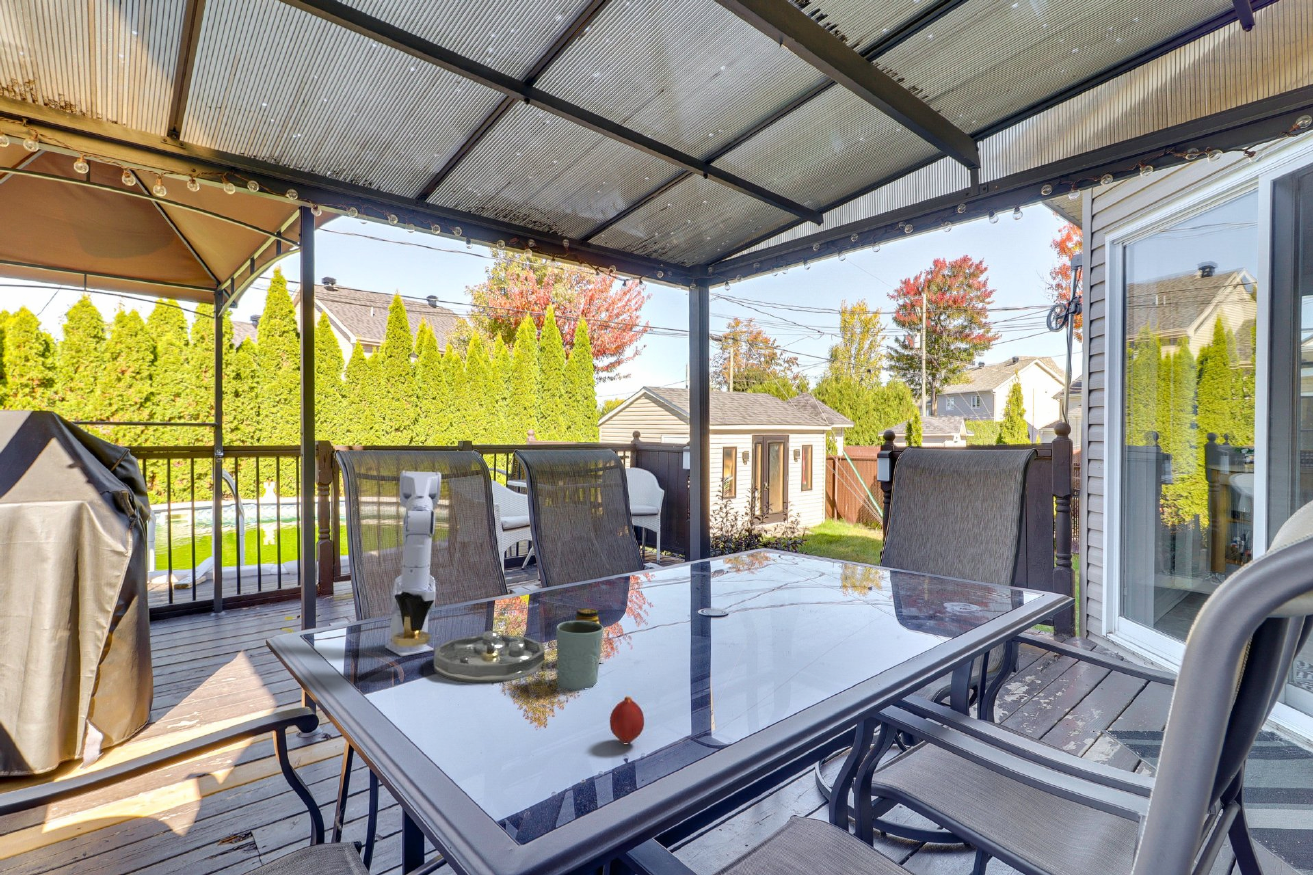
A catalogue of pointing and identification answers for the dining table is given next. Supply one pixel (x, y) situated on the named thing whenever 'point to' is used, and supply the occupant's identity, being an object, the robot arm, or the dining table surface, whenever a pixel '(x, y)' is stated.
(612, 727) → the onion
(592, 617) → the condiment
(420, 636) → the brass octagonal knob
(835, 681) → the dining table surface
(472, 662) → the tray
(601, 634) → the green cup
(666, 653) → the dining table surface
